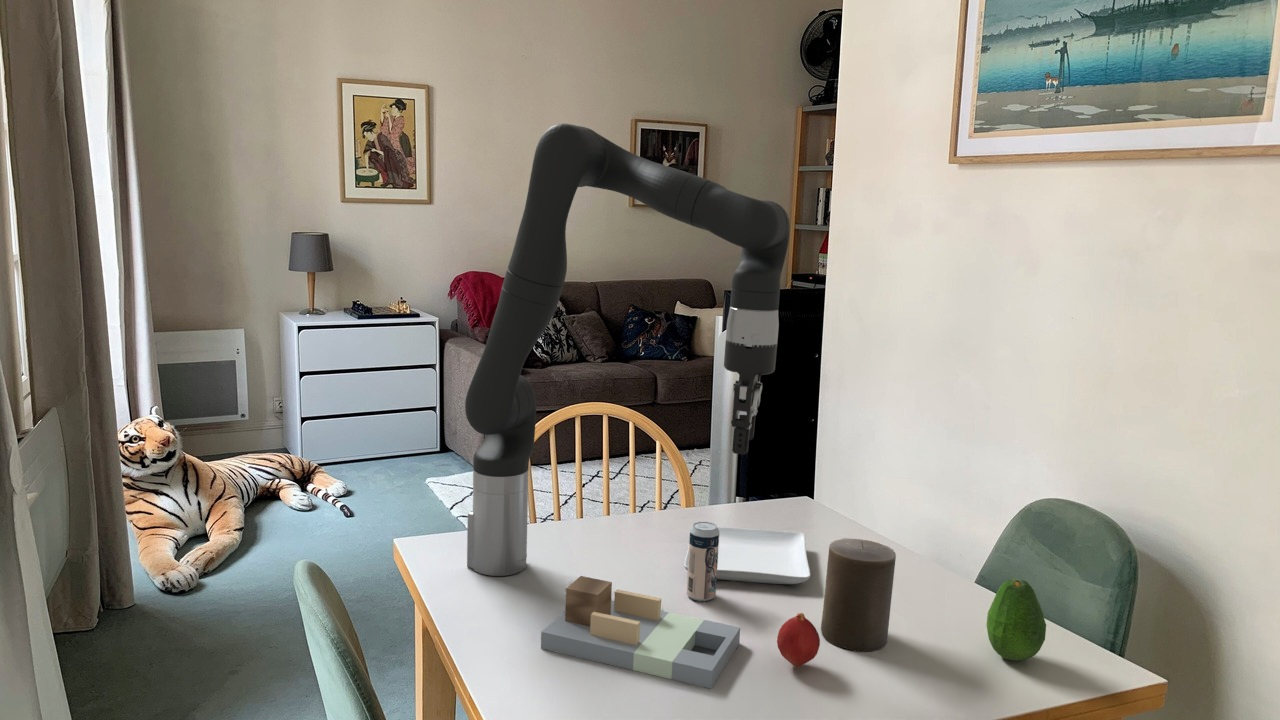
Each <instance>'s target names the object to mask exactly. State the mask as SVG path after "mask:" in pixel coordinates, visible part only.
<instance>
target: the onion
mask: <svg viewBox="0 0 1280 720" xmlns="http://www.w3.org/2000/svg"><path fill="white" fill-rule="evenodd" d="M776 638H777V639H776V643H777V644H776V645H777V649H778V650H779V652H780V655H781V656H782V657H783V658H784V659H785V660H786V661H788V662H789V663H790V664H791V666H793V667H794V668H801V667H802V666H804V665H806V664H808V663H809V662H810V661H812V660H814V658H815V657H816V656H817V654H818V653H819V649H820V645H821V641H820V640H821V639H820V635H819V632H818V630H817V628H816V627H815V625H814V624H813V622H811V621H810V620H809V619H808V618H806V617H805V614H804V613H803V612H798V613H797V614H796V615H795V616H793V617H791V618H789V619H788V620H786V621H785V622H784V623H783V624H782V625H781V627H780V628H779V630H778V633H777V637H776Z"/></svg>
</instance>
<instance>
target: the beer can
mask: <svg viewBox="0 0 1280 720" xmlns="http://www.w3.org/2000/svg"><path fill="white" fill-rule="evenodd" d="M691 527H692V528H690V529H689V539H690V540H688V546H689V558H688V571H687V576H686V577H687V581H686V595H687V596H688V597H689V598H691V599H692V600H693V601H697V602H708V601H710V600H712V599H714V598H716V597H717V580H718V579H717V565H718V548H719V533H720V532H719V529H718V527H719V526H718V525H717V524H715V523H714V522H709V521H697V522H694V523H693V525H692V526H691Z"/></svg>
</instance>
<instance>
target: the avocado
mask: <svg viewBox="0 0 1280 720" xmlns="http://www.w3.org/2000/svg"><path fill="white" fill-rule="evenodd" d="M1041 607H1042V606H1041V605H1040V603H1039V600H1038V597H1037V594H1036V593H1035V590H1034V589H1033V588H1032V586H1031V585H1030V583H1029V582H1028V581H1026V580H1022V579H1019V578H1015V577H1014V578H1010V579H1008V580H1006V581H1004V582H1003V583H1002V584H1001V585H1000V586H999V588H998V589H997V591H996V593H995V596H994V598H993V601H992V602H991V605H990V606H989V609H988V611H987V616H986V617H987V619H986V630H987V631H986V632H987V636H988V637H987V638H988V641H989V642H990V645H991V647H992V649H993V650H994V651H995V653H997V655H999V656H1000V657H1002V658H1003V659H1005V660H1010V661H1016V662H1020V661H1026V660H1029V659H1031V658H1034V656H1035V655H1036V654H1038V652H1040V650H1041V648H1042V647H1043V645H1044V642H1045V641H1046V634H1047V633H1046V632H1047V624H1046V619H1045V616H1044V613H1043V610H1042V608H1041Z"/></svg>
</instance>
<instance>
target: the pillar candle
mask: <svg viewBox="0 0 1280 720" xmlns="http://www.w3.org/2000/svg"><path fill="white" fill-rule="evenodd" d="M828 545H829V547H828V555H827V556H828V557H827V568H826V576H825V588H824V597H823V608H822V614H821V622H820V623H821V624H820V631H821V635H822V637H823V638H824V639H825V640H826V641H828V642H829V643H830V644H832V645H835V646H837V647H839V648H843V649H846V650H849V651H854V652H874V651H877V650H881V649H883V648H885V647H886V645H887V642H888V637H889V636H888V635H889V628H890V627H889V626H890V617H891V608H892V607H891V606H892V597H893V589H894V578H895V577H894V575H895V568H896V567H895V566H896V558H897V557H896V556H897V554H896V552H895V551H894V550H895V549H893V548H891V547H890V546H889V545H885V544H882V543H880V542H877V541H873V540H868V539H863V538H862V539H861V538H850V537H849V538H848V537H844V538H840V539H836V540H833V541H831V542H830V544H828Z"/></svg>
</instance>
